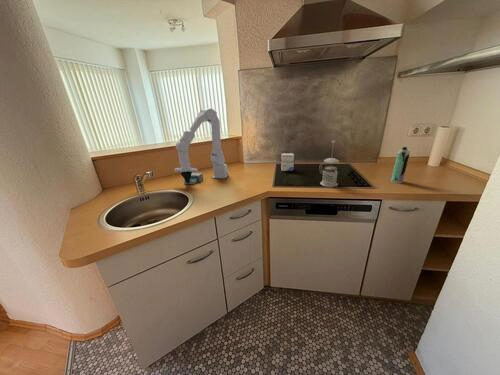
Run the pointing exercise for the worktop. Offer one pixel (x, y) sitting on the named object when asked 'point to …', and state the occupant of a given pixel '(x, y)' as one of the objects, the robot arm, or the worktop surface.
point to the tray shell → (192, 180)
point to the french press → (331, 179)
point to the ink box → (287, 162)
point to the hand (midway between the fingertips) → (188, 182)
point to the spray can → (400, 165)
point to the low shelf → (199, 175)
